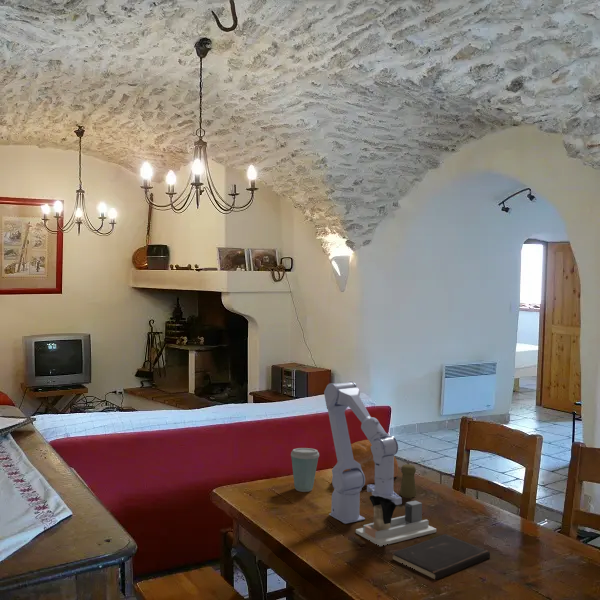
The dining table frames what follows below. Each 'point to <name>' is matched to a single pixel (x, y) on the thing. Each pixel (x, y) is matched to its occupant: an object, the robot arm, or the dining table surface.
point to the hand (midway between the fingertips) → (383, 521)
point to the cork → (408, 481)
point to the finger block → (379, 519)
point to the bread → (367, 460)
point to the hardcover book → (440, 556)
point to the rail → (399, 527)
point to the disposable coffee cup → (304, 468)
